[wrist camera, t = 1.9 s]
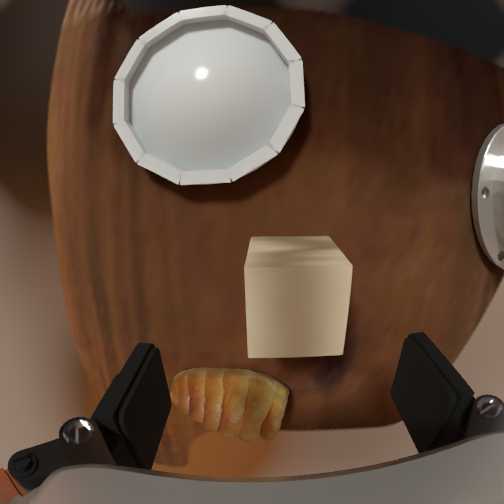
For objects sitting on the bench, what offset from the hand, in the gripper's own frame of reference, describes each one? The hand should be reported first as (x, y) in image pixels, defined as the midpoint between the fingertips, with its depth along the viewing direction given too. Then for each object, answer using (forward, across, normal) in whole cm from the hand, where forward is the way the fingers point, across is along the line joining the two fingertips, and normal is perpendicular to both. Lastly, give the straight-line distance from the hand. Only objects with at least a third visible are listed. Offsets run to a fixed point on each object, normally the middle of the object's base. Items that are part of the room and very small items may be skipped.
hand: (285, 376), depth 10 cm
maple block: (+10, -1, 0) cm, 10 cm away
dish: (+10, +4, -12) cm, 16 cm away
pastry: (+11, +3, +11) cm, 16 cm away
